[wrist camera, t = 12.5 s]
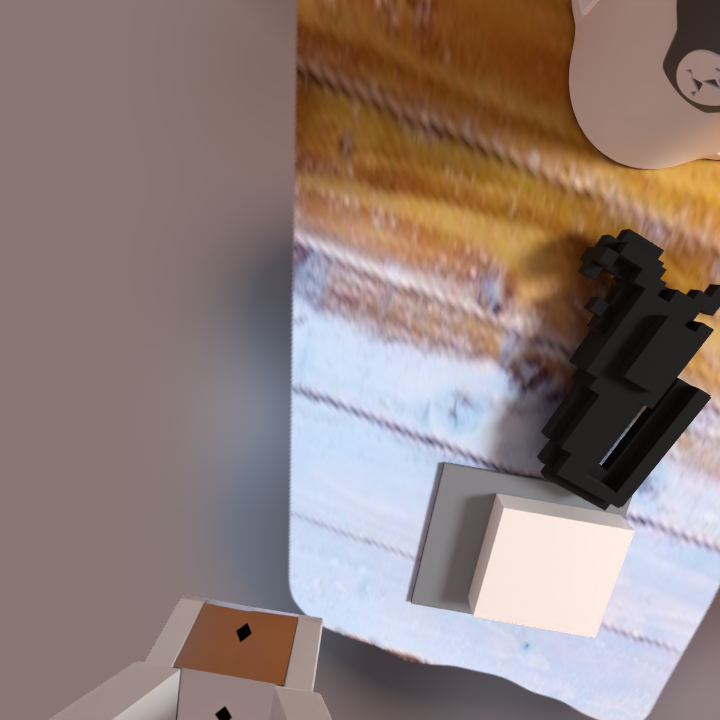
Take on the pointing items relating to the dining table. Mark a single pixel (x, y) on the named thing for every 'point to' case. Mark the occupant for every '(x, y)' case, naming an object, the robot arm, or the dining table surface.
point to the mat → (473, 528)
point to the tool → (627, 375)
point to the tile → (548, 565)
